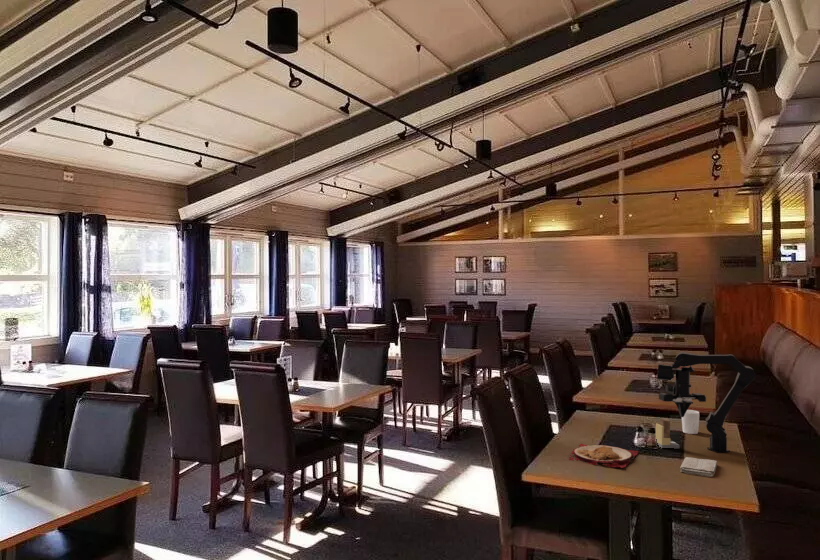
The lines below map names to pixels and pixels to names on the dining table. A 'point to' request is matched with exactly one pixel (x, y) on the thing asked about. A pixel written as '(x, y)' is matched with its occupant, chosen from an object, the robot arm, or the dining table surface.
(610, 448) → the plate with food
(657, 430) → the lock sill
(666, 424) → the block
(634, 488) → the dining table surface
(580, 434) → the dining table surface
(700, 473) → the washcloth
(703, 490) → the dining table surface
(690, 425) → the white cup
